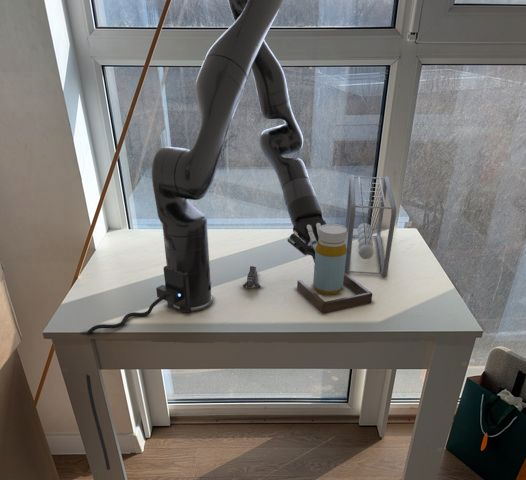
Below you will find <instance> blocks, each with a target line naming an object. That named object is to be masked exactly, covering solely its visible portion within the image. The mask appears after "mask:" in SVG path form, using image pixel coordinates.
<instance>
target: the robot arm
mask: <svg viewBox="0 0 526 480" xmlns="http://www.w3.org/2000/svg"><path fill="white" fill-rule="evenodd" d="M227 2H228V5H229V9H230V12H231V15H232V18H233V21H234V22H233V24H232V25H231V26H230V27H228V29H226V31H224V32H223V33H222V34H221V35H220V37H219V38H218V39H217V40H216V41H215V42H214V43H213V44H212V46H211V47H210V48H209V50H208V51H207V53H206V55H205V57H204V60H203V62H202V63H201V64H202V65H201V67H200V70H199V72H198V75H197V77H196V81H195V98H196V103H197V104H196V105H197V108H198V113H199V117H200V126H199V130H198V134H197V137H196V139H195V142H194V144H193V146H192V148H184V147H177V146H171V145H168V146H162V147H161V148H159V149H158V150H157V151H156V152H155V154H154V156H153V159H152V163H151V182H152V188H153V194H154V202H155V208H156V212H157V217H158V220H159V221H160V223H161V226H162V235H163V242H164V243H163V244H164V253H165V262H166V265H165V266H163V277H164V284H161V285H159V286H156V287H155V289H156V297H157V299H156V300H154V301H153V302H152V303H151V304H150V305H149V306H148V307H149V308H148V309H147V310H146V311H144V312H129V313H127V314H126V315H124V316H123V318H122V320H121V321H120V322H118V323H116V324H96V325H93V326H92V327H90V328H89V329H88V330H87V332H86V335H91V334H92V333H94V331H96V330H99V329H118V328H121V327H123V326H124V325H125V324H126V322H127V320H128V319H129V318H131V317H147V316H149V315H150V314H151V313H152V311H153V309H154V308H155V307H156V306H157V305H158V304H159V303H161V302H162V301H163V300H164V301H166V303H167V306H168V307H169V308H173V309H174V310H177V311H180V312H182V313H185V314H190V313H192V312H197V311H201V310H205V309H207V308H209V307H210V306H211V305H212V302H213V296H212V286H213V285H212V281H211V268H210V267H211V266H210V252H209V251H210V249H209V235H208V234H209V233H208V232H209V231H208V230H209V229H208V218H207V215H206V214H205V213H204V212H203V211H202V210H200V209H199V208H197V207H196V206H195V205H194V204H193V203H192V202H191V201H200V200H202V199H204V198H205V197H206V196H207V194H208V193H209V191H210V189H211V187H212V185H213V182H214V180H215V176H216V172H217V169H218V165H219V162H220V158H221V155H222V151H223V148H224V144H225V140H226V138H227V135H228V131H229V129H230V126H231V123H232V120H233V119H234V118H233V117H234V115H235V112H236V110H237V108H238V105H239V103H240V100H241V99H242V96H243V93H244V90H245V88H246V85H247V83H248V80H249V77H250V74H251V73H252V76H253V81H254V83H255V84H254V85H255V89H256V95H257V99H258V104H259V110H260V113H261V116H262V117H263V118H264V119H265V120H282V121H283V122H284V124H280V125H278V126H274V127H270V128H267V129H264V130H263V131H262V132H261V133H260V136H259V147H260V150H261V152H262V154H263V156H264V157H265V159H267V161H268V162H269V164H270V165H271V167H272V168H273V170H274V172H275V174H276V176H277V179H278V182H279V185H280V187H281V191H282V195H283V201H284V204H285V207H286V209H287V213H288V215H289V219H290V221H291V224H292V226H293V227H292V233H291V234H290V236H289V237H288V238H287V240H286V241H287V243H289V245H291V246H292V247H294V249H296V250H298V251H299V252H300V253H301V254H302V255H304V256H311V257H312V261H313V263H314V264H315V251H316V246H317V244H318V238H319V237H318V236H319V227H320V226H322V225H325V224H327V222H326V220H325V219H324V218H323V213H322V210H321V206H320V204H319V200H318V197H317V195H316V191H315V189H314V187H313V183H312V181H311V180H310V177H309V174H308V170H307V167H306V165H305V163H304V161H303V160H302V158H299V157H286V156H289V155H294V154H296V153H298V152H300V151H301V150H302V148H303V145H304V136H303V133H302V131H301V128H300V126H299V124H298V122H297V120H296V117H295V115H294V113H293V109H292V105H291V102H290V96H289V90H288V83H287V79H286V75H285V72H284V70H283V68H282V66H281V64H280V62H279V60H278V59H277V58H276V56H275V54H274V53H273V51H272V50H271V48H270V47H269V46H268V44H267V42H266V40H265V38H266V36H267V34H268V32H269V30H270V28H271V26H272V25H273V23H274V20H275V19H276V17H277V15H278V13H279V11H280V9H281V7H282V3H283V0H227ZM190 200H191V201H190ZM85 379H86V386H87V392H88V399H89V402H90V407H91V411H92V417H93V419H94V423H95V426H96V430H97V434H98V438H99V441H100V445H101V449H102V453H103V457H104V461H105V466H106V467H105V468H106V470H107V471H109V470H111V465H110V461H109V456H108V452H107V447H106V444H105V439H104V435H103V432H102V428H101V425H100V421H99V417H98V413H97V409H96V405H95V400H94V393H93V390H92V389H93V388H92V383H91V376H90V375H89V374H87V373H85Z"/></svg>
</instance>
